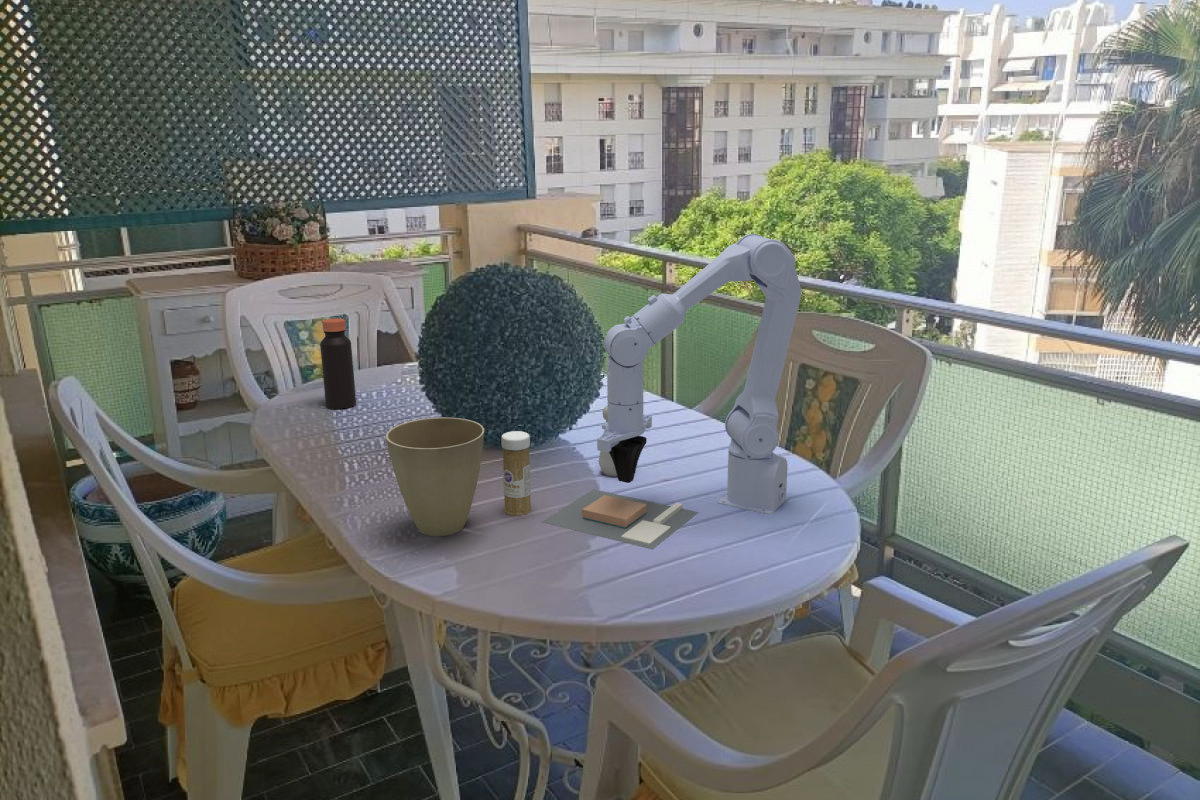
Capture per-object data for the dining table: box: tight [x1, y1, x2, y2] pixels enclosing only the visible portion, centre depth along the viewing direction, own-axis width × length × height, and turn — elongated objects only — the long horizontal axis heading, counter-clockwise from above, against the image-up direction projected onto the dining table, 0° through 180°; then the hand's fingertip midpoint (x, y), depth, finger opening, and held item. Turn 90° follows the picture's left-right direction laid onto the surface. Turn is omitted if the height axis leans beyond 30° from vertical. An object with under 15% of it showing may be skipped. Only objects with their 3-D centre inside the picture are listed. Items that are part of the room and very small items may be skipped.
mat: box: [541, 489, 699, 550], centre depth 147 cm, size 20×16×1 cm
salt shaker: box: [598, 405, 618, 478], centre depth 164 cm, size 6×6×13 cm
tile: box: [582, 495, 647, 528], centre depth 147 cm, size 8×2×7 cm
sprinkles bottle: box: [501, 430, 532, 516], centre depth 148 cm, size 5×5×14 cm
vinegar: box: [319, 317, 357, 410], centre depth 207 cm, size 7×7×20 cm
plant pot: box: [385, 417, 485, 537], centre depth 142 cm, size 15×15×16 cm
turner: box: [621, 502, 684, 545], centre depth 144 cm, size 15×5×1 cm, turn 149°
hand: (625, 480), depth 148 cm, fingers closed
